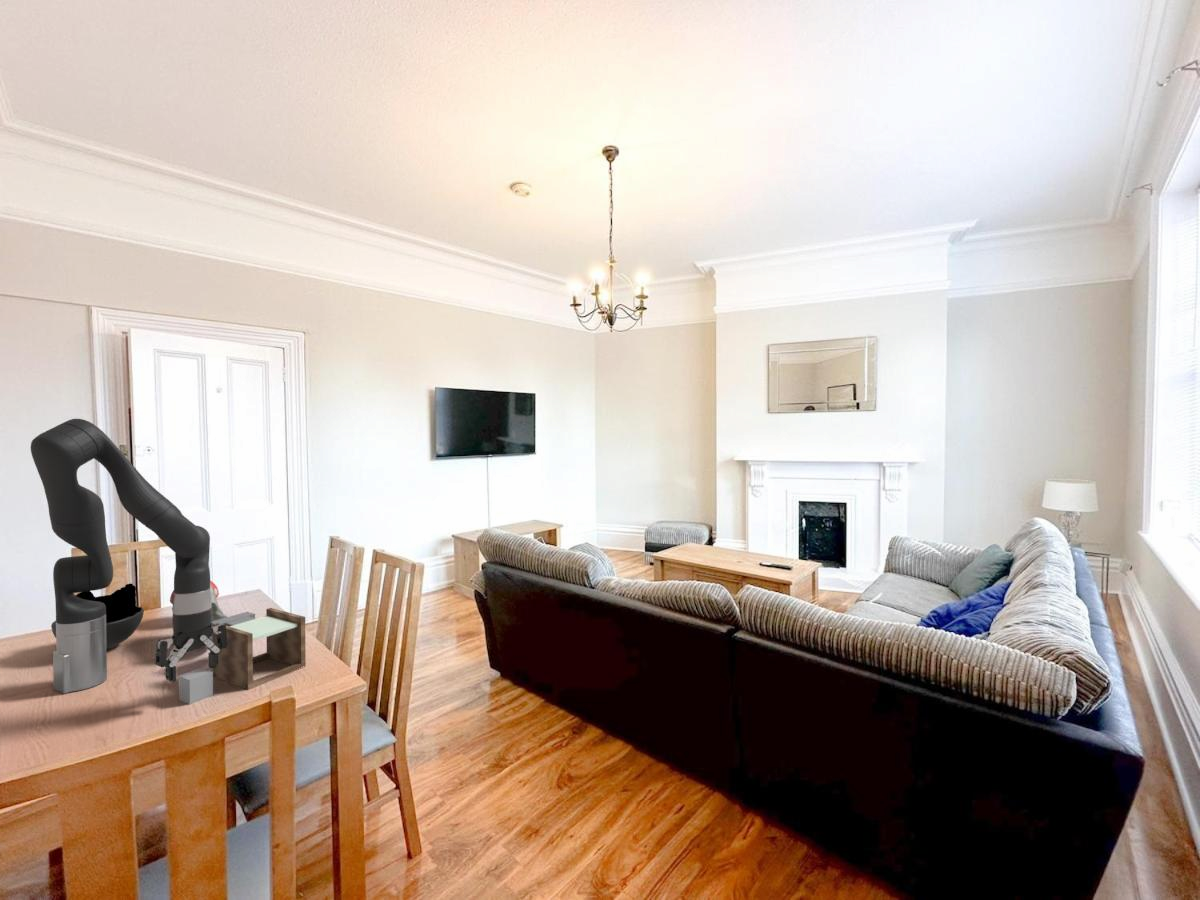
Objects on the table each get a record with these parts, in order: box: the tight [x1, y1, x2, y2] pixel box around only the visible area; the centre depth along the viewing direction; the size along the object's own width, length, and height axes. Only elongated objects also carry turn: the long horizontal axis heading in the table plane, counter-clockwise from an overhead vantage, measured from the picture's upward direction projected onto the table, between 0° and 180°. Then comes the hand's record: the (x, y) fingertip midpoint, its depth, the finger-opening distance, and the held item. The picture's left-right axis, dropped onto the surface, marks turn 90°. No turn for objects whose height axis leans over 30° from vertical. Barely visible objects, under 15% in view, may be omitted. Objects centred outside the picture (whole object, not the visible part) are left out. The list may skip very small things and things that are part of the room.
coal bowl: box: [50, 583, 145, 650], centre depth 158 cm, size 20×20×19 cm
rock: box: [209, 583, 228, 642], centre depth 162 cm, size 27×6×20 cm, turn 48°
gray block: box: [178, 667, 214, 705], centre depth 130 cm, size 5×5×6 cm
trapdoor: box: [211, 611, 297, 642], centre depth 147 cm, size 22×12×4 cm, turn 63°
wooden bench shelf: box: [212, 607, 306, 690], centre depth 145 cm, size 16×15×14 cm
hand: (193, 674), depth 129 cm, fingers open, 8 cm apart
